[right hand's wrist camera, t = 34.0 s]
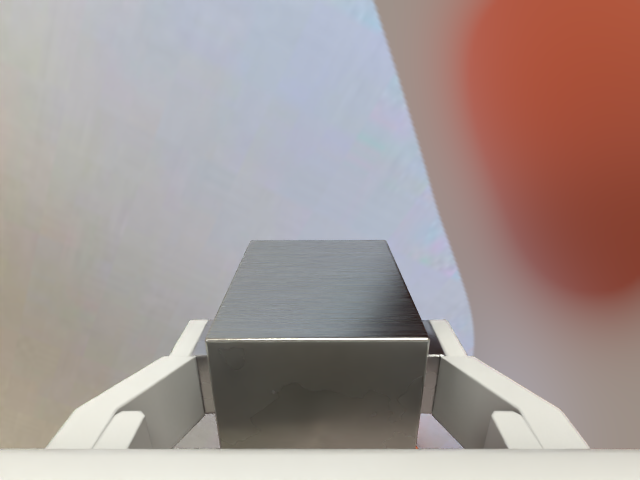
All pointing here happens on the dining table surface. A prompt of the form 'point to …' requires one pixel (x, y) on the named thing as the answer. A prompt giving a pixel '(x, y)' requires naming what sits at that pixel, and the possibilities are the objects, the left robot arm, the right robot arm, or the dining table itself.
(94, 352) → the dining table surface
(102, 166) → the dining table surface
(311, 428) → the block
